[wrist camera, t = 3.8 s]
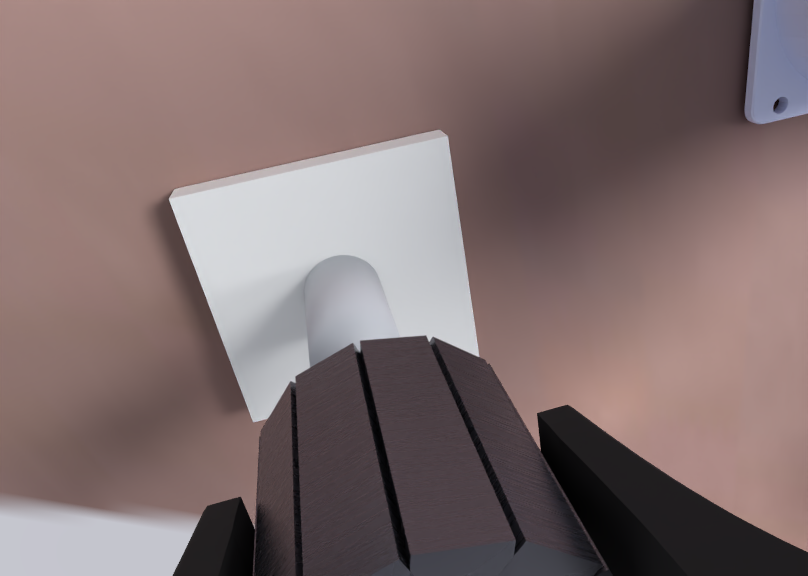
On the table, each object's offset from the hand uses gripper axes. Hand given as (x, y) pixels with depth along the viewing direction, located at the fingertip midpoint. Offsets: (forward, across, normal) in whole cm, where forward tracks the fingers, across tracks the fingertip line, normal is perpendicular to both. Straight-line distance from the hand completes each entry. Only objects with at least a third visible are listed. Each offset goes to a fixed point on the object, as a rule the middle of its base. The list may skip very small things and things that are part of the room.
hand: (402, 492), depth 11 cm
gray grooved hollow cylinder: (+2, 0, 0) cm, 2 cm away
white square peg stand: (+10, 0, 0) cm, 10 cm away
